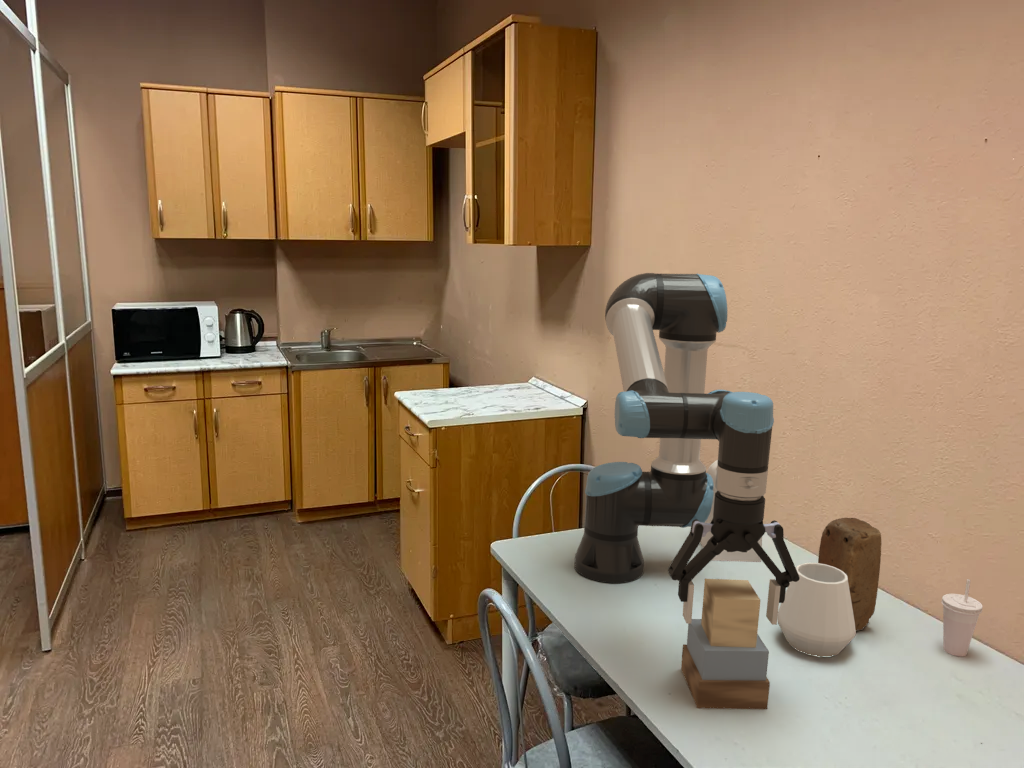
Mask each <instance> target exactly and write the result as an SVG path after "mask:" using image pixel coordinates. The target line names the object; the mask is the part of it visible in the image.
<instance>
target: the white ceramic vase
mask: <svg viewBox="0 0 1024 768" xmlns="http://www.w3.org/2000/svg"><path fill="white" fill-rule="evenodd" d="M795 568H796V570H797V572H798V575H799V580H798V581H797V582H794V581H792V582H789V583H790V585H789V586H788V587H787V588H786V592H785V600H784V602H783V603H780V604H779V607H778V617H777V624H778V625H779V628H780V630H781V631H782V634H783V636H784V638H785V639H786V642H787V643H788V642H789V643H788V644H789V646H790V647H792V646H793V647H794V648H793V647H792V648H793V649H795V648H796V649H797V650H796V649H795V650H796V651H798V650H799V651H798V652H800V651H802V652H805V653H807V654H811V655H817V656H832V655H835V656H837V655H838V654H839V653H840V652H841V651H842V650H844V648H845V647H847V646H848V644H850V643H851V641H853V639H854V638H855V636H856V634H857V631H856V629H855V621H854V615H853V609H852V602H851V596H850V590H849V584H848V577H847V575H846V574H845V573H844V572H843V571H841V570H839V569H837V568H835V567H833V566H829V565H826V564H820V563H818V562H805V563H800V564H798V565H797V566H795ZM802 652H801V653H802ZM805 653H804V654H805ZM807 654H806V655H807ZM811 655H810V656H811ZM832 657H833V656H832Z"/></svg>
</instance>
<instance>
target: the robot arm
mask: <svg viewBox="0 0 1024 768" xmlns="http://www.w3.org/2000/svg"><path fill="white" fill-rule="evenodd" d="M604 317H605V318H604V319H605V325H606V328H607V330H608V332H609V333H610V335H612V336H613V340H614V344H615V352H616V356H617V357H616V358H617V361H618V368H619V373H620V378H621V384H622V389H623V390H622V391H621V392H619V393H617V395H616V397H615V403H614V426H615V427H614V428H615V431H616V432H617V434H618V435H619V436H621V437H631V438H632V437H633V438H637V439H659V449H658V456H657V457H656V458H655V459H653V460H652V461H651V463H650V471H643V468H642V466H640V465H639V464H637V463H635V462H627V461H613V462H607V463H602V464H599V465H597V466H595V467H593V468H592V469H591V470H590V471H588V474H587V477H586V486H585V489H584V493H585V508H584V509H585V510H584V525H583V526H584V527H583V529H584V530H583V535H582V537H581V540H580V542H579V545H578V547H577V550H576V553H575V555H574V569H575V570H576V572H577V573H579V574H580V575H581V576H582V577H585V578H587V579H589V580H593V581H597V582H600V583H601V582H602V583H609V584H621V583H628V582H633V581H636V580H638V579H640V578H641V577H642V576H643V574H644V569H645V561H644V556H643V552H642V550H641V549H642V548H641V544H640V542H639V539H638V534H639V533H638V531H639V526H642V527H643V526H646V527H647V526H648V527H674V528H682V529H683V528H684V529H685V528H689V527H690V531H689V532H688V535H687V537H686V539H685V540H684V541H683V543H682V544H681V546H680V548H679V550H678V551H677V553H676V555H675V557H673V560H672V561H671V563H670V564H669V566H668V568H667V572H668V574H669V576H670V578H671V580H673V581H678V590H677V595H678V598H679V600H680V602H681V603H682V602H683V603H682V604H683V606H682V617H683V619H684V621H685V623H686V624H687V625H688V624H691V621H692V619H693V605H694V596H695V595H694V593H695V584H694V582H693V579H694V578H695V577H696V576H698V574H699V573H700V572H702V570H703V569H704V568H705V567H706V566H707V565H708V564H709V563H710V562H711V560H712V559H713V558H714V557H715V556H716V555H719V554H720V553H721V552H722V551H723V550H726V551H727V552H735V551H740V552H747V551H748V550H750V549H752V548H753V550H754V551H755V552H756V554H757V555H758V556H759V557H760V559H761V562H763V564H764V565H765V566H766V568H767V569H768V570H769V571H770V573H771V574H772V575H773V576H774V578H769V583H768V594H767V605H766V614H765V615H766V618H767V620H768V621H769V622H770V624H771V625H773V626H775V625H777V624H778V620H777V618H778V611H779V608H780V604H781V603H783V602H784V600H785V593H786V590H787V588H788V586H789V585H790V582H792V581H794V582H797V581H798V580H799V575H798V572H797V570H796V566H795V563H794V560H793V559H792V556H791V554H790V551H789V549H788V547H787V544H786V542H785V539H784V534H785V533H784V527H783V526H782V525H781V524H780V523H779V522H778V521H777V520H774V519H773V520H772V521H770V522H769V523H764V518H765V517H764V516H765V508H766V507H765V505H766V498H765V494H766V493H767V486H768V483H767V482H768V472H769V464H770V462H769V461H770V452H771V444H772V443H771V442H772V433H773V426H774V423H775V419H774V402H773V400H772V398H770V396H768V395H765V394H760V393H759V392H750V391H730V390H727V389H715V390H712V391H709V392H708V393H705V392H706V391H705V389H706V377H707V375H706V374H707V364H708V363H707V362H708V349H709V348H710V347H711V346H712V345H713V344H715V343H716V341H717V333H721V332H723V331H724V330H725V329H726V327H727V322H728V301H727V294H726V290H725V286H724V284H723V283H722V281H721V279H720V278H719V277H717V276H714V275H712V274H711V275H710V274H701V273H655V272H646V273H640V274H636V275H633V276H631V277H629V278H627V279H625V281H622V283H620V284H619V285H618V286H617V287H616V288H615V289H614V291H613V292H612V293H611V295H610V296H609V297H608V299H607V303H606V305H605V309H604ZM654 331H658V332H659V333H658V339H659V340H660V341H661V343H662V344H663V346H665V353H664V366H663V364H662V359H661V356H660V353H659V348H658V345H657V340H656V337H655V332H654ZM702 440H717V441H718V450H717V451H718V453H717V454H718V455H717V460H718V464H717V474H716V485H715V487H716V489H717V490H718V491H717V492H716V493H715V499H714V511H713V519H712V521H711V523H705V521H706V520H707V519H708V517H709V514H710V512H711V508H712V504H713V497H714V491H713V488H714V483H713V479H712V476H711V475H710V474H708V473H707V466H706V465H705V464H704V463H703V462H702V461H701V459H700V457H701V447H702V446H701V444H702ZM763 495H764V496H763ZM710 531H711V533H712V534H713V536H712V537H711V538H710V539H709V540H708V542H707V544H706V545H705V546H704V548H703V547H702V548H701V549H700V551H698V552H697V553H696V554H695V556H694V557H692V556H693V555H694V553H695V551H696V550H697V548H698V546H699V545H700V544H701V543H700V541H701V539H702V537H705V535H706V533H707V532H710ZM765 534H767V536H768V537H770V538H771V540H772V543H773V544H774V546H775V550H776V551H777V554H778V556H779V558H780V560H781V561H780V562H781V563H782V566H783V568H784V570H785V571H781V570H780V568H779V567H778V566H777V565H776V564H775V563H774V561H773V560H772V559H771V557H770V556H769V555H768V553H767V552H766V551H765V549H763V546H762V547H761V546H760V545H759V543H758V541H759V540H760V538H761V537H762V538H763V536H764V535H765ZM717 543H718V544H717ZM691 558H692V559H691Z"/></svg>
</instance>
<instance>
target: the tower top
mask: <svg viewBox="0 0 1024 768" xmlns="http://www.w3.org/2000/svg"><path fill="white" fill-rule="evenodd" d="M701 620H702V618H692V621H691V624H687V635H686V636H687V637H686V638H687V639H686V645H687V648H688V650H689V652H690V655H691V657H692V659H693V661H694V663H695V665H696V667H697V669H698V671H699V674H700V676H701V678H702V680H757V681H766V677H767V676H768V675H767V673H768V665H769V656H770V655H769V654H770V651H769V649H768V647H767V646H766V645H765V643H764V642H763V640H762V639H761V637H760V636H759V634H758V633H757V642H756V648H751V647H724V646H711V645H710V643H709V640H708V638H707V636H706V634H705V631H704V629H703V627H702V625H701ZM767 678H768V677H767Z"/></svg>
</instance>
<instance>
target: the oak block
mask: <svg viewBox="0 0 1024 768" xmlns="http://www.w3.org/2000/svg"><path fill="white" fill-rule="evenodd" d="M702 595H703V596H702V597H703V599H702V608H701V609H702V610H701V619H702V620H701V625H702V627H703V629H704V631H705V634H706V636H707V638H708V640H709V643H710V645H711V646H724V647H751V648H756V642H757V634H758V631H759V629H758V628H759V620H760V611H761V610H760V609H761V599H760V597H759V596H758V594H757V592H756V591H755V589H754V587H753V586H752V584H751V583H750V581H749V580H747V579H730V578H729V579H725V578H723V579H722V578H721V579H720V578H704V586H703V594H702Z"/></svg>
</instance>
